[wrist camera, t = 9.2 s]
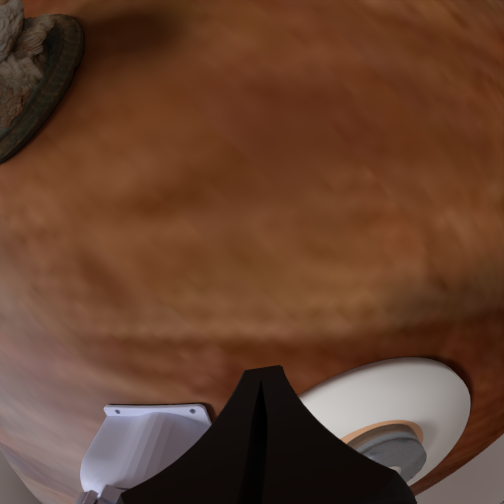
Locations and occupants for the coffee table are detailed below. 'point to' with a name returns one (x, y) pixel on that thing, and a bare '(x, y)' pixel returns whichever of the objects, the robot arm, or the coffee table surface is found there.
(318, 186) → the coffee table surface
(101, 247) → the coffee table surface
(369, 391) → the turntable
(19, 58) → the owl figurine
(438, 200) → the coffee table surface
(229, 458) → the robot arm
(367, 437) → the cast cover
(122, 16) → the coffee table surface
